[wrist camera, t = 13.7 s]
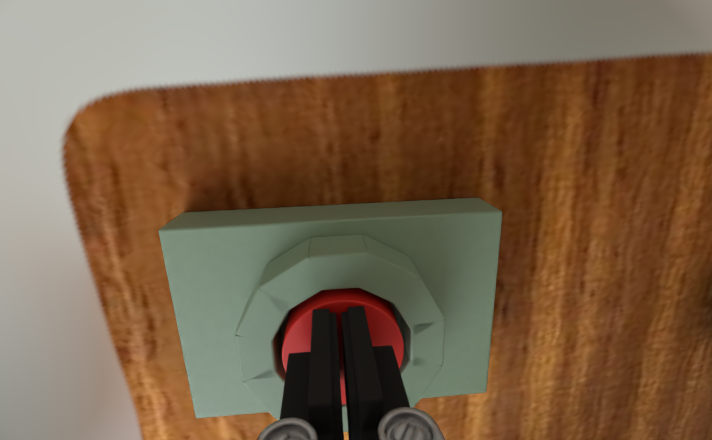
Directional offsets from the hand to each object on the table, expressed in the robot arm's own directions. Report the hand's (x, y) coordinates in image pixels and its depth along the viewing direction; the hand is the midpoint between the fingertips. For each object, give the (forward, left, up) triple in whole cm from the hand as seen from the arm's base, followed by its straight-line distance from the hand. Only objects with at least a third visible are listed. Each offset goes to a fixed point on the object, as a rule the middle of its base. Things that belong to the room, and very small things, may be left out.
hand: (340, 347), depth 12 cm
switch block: (0, 0, -4) cm, 4 cm away
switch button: (0, 0, -2) cm, 2 cm away
